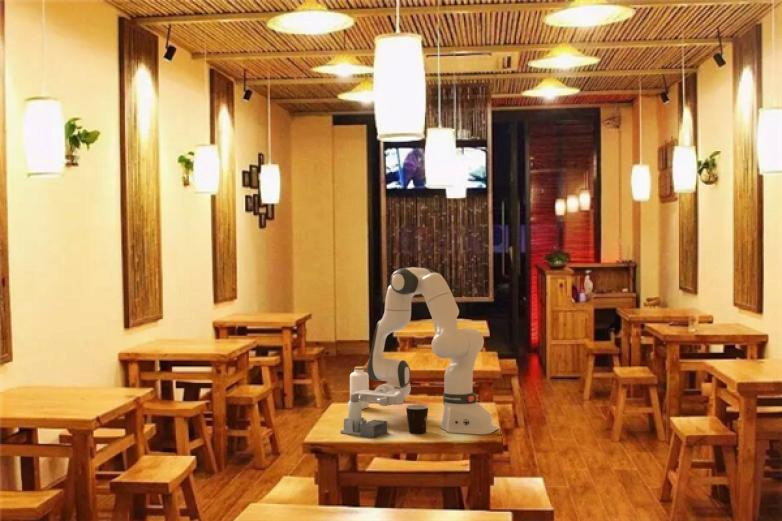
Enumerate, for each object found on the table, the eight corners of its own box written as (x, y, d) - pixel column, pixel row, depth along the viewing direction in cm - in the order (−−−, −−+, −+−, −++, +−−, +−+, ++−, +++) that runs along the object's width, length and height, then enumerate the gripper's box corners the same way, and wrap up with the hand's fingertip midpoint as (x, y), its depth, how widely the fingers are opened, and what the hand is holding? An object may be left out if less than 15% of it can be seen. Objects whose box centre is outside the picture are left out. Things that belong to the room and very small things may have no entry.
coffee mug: (415, 429, 345) (415, 403, 345) (433, 432, 340) (432, 406, 340) (396, 434, 336) (396, 408, 336) (414, 437, 331) (414, 411, 331)
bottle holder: (387, 432, 340) (387, 419, 339) (374, 438, 331) (373, 424, 331) (352, 428, 347) (352, 415, 347) (339, 433, 339) (338, 420, 339)
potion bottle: (360, 410, 382) (360, 369, 382) (346, 408, 387) (345, 367, 387) (372, 407, 389) (372, 366, 388) (358, 405, 394) (357, 365, 393)
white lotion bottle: (364, 429, 342) (363, 393, 341) (357, 431, 338) (356, 395, 337) (353, 427, 344) (352, 392, 344) (346, 430, 340) (345, 394, 340)
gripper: (363, 385, 366) (345, 390, 354) (406, 389, 356) (390, 394, 344) (363, 400, 366) (346, 406, 354) (407, 404, 356) (390, 410, 344)
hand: (368, 400), depth 349 cm, fingers open, 8 cm apart
